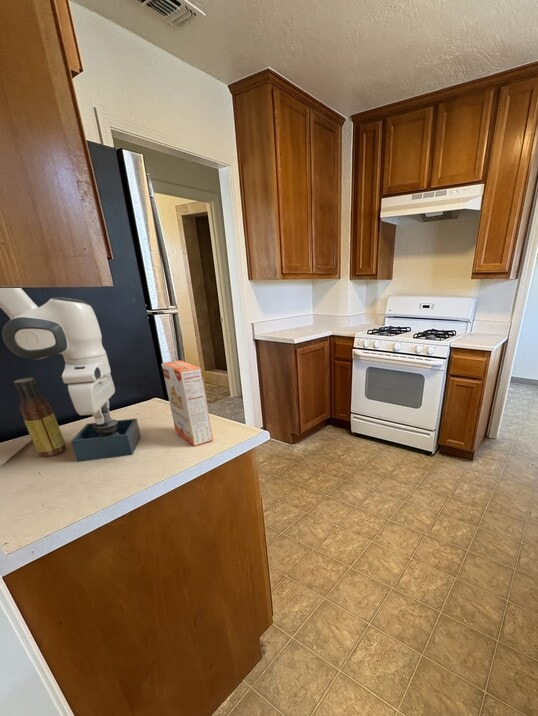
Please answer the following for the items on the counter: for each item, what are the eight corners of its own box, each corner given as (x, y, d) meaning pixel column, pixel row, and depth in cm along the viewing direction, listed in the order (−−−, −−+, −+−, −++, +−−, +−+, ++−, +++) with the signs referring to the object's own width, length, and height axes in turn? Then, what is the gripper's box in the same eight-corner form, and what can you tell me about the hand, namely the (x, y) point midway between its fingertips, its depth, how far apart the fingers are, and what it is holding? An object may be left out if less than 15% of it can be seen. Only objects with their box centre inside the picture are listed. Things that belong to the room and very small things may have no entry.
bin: (77, 461, 88) (70, 441, 86) (92, 442, 99) (86, 423, 97) (132, 454, 91) (127, 435, 89) (141, 436, 102) (136, 418, 100)
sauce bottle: (64, 445, 97) (40, 374, 90) (69, 452, 93) (45, 378, 86) (35, 452, 93) (7, 379, 85) (39, 460, 89) (10, 384, 81)
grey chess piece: (114, 430, 98) (103, 388, 93) (125, 434, 95) (114, 391, 90) (91, 437, 93) (78, 393, 89) (102, 442, 90) (89, 397, 85)
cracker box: (174, 432, 105) (160, 362, 96) (194, 427, 108) (182, 359, 100) (192, 447, 95) (178, 370, 87) (213, 441, 98) (202, 366, 90)
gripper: (87, 360, 95) (101, 409, 100) (58, 378, 77) (76, 436, 82) (113, 359, 97) (125, 406, 102) (90, 375, 79) (106, 432, 84)
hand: (103, 420), depth 92 cm, fingers closed on grey chess piece, 3 cm apart
